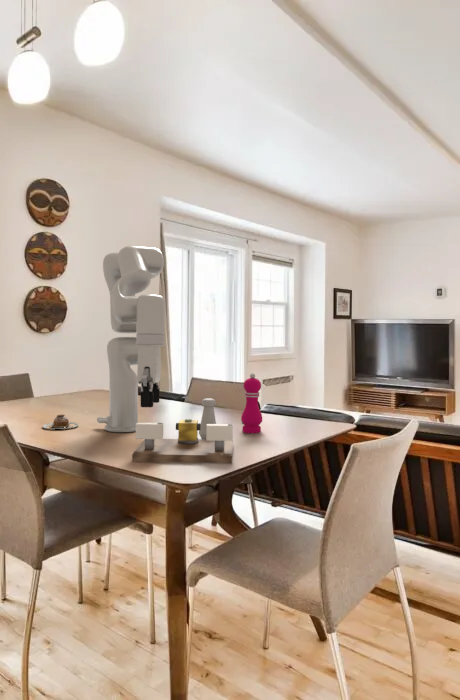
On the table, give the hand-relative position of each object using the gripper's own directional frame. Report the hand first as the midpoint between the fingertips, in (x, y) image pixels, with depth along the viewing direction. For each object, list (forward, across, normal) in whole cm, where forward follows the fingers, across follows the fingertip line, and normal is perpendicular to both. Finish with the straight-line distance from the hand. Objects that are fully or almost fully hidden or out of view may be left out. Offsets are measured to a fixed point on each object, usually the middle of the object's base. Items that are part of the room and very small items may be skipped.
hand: (150, 404), depth 135 cm
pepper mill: (+14, -37, +28) cm, 48 cm away
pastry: (+14, -38, -38) cm, 56 cm away
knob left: (+12, -1, 0) cm, 12 cm away
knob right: (+12, -1, +19) cm, 22 cm away
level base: (+14, -5, +9) cm, 18 cm away
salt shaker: (+14, -23, +14) cm, 30 cm away
